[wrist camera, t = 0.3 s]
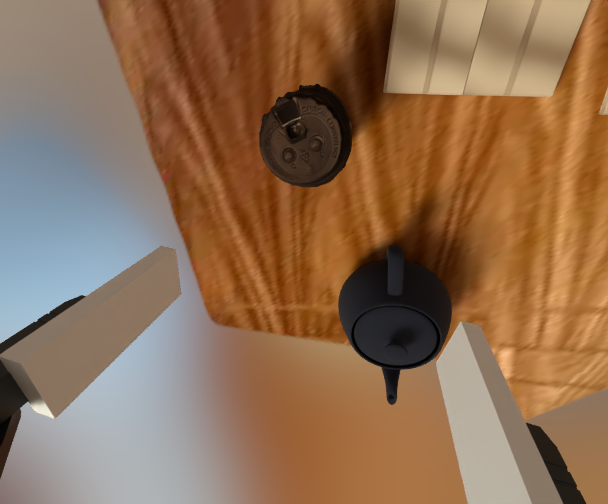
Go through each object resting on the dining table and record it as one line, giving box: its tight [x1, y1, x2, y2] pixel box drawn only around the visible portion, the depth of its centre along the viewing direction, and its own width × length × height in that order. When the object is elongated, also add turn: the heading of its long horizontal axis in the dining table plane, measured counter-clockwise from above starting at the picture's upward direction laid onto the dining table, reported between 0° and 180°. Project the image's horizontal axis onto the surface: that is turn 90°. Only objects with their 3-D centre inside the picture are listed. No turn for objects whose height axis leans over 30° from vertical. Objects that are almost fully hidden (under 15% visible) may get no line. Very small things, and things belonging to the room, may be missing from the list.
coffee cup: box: [259, 84, 352, 187], centre depth 28 cm, size 9×8×13 cm
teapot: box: [338, 245, 452, 405], centre depth 38 cm, size 25×16×12 cm, turn 7°
